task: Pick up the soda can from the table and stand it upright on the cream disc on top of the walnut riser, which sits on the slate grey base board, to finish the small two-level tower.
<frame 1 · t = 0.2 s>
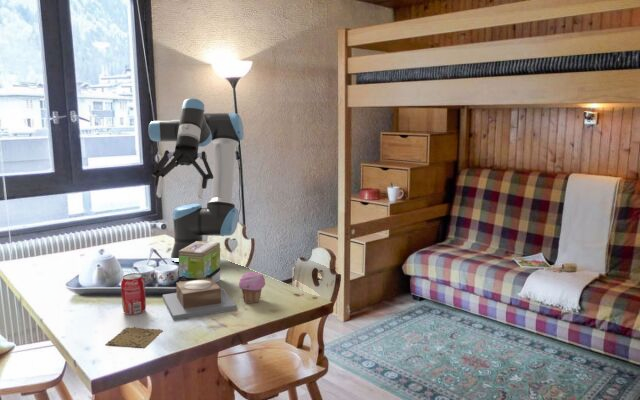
hand: (179, 196, 174), 36 cm above the table, tool tilted 35°, fingers open, 13 cm apart
base board: (198, 304, 177), on the table
walnut riser: (198, 292, 176), on the base board, point 4 cm above the table
soda can: (134, 312, 170), on the table
brown flat square slab: (135, 339, 152), on the table
tea box: (200, 285, 196), on the table
cupcake: (252, 301, 180), on the table
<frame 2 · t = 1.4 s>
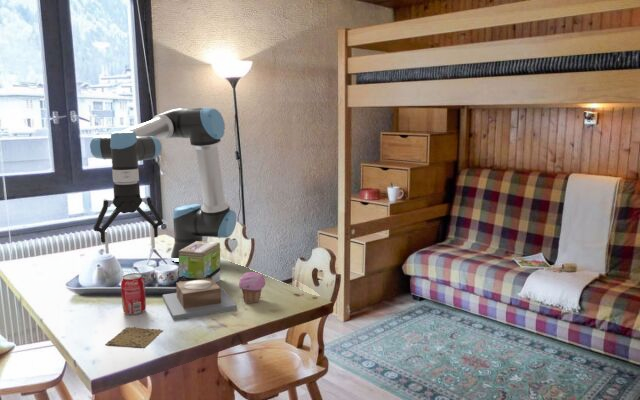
hand: (130, 250, 167), 20 cm above the table, tool pointing down, fingers open, 13 cm apart
nothing on the table moved.
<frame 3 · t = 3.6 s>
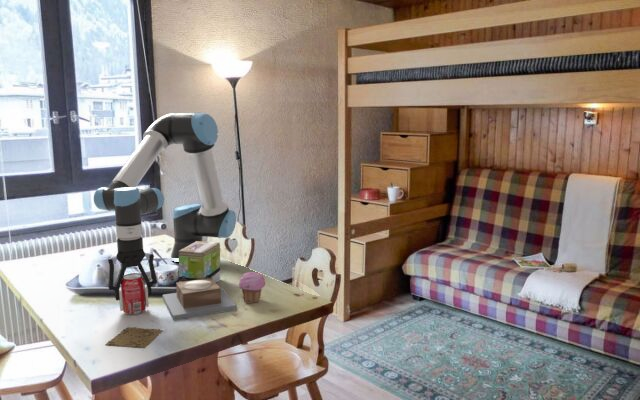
hand: (134, 307, 170), 2 cm above the table, tool pointing down, fingers closed on soda can, 7 cm apart
soda can: (134, 312, 170), on the table, touching gripper
everything else where it was.
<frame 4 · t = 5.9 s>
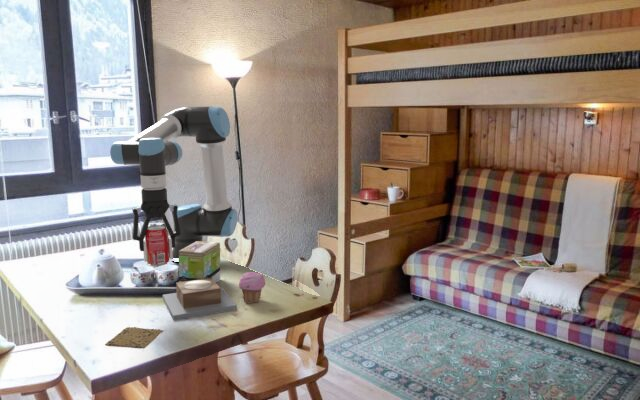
hand: (158, 258, 170), 17 cm above the table, tool pointing down, fingers closed on soda can, 7 cm apart
soda can: (158, 264, 171), point 15 cm above the table, touching gripper
everything else where it was.
when the fingers open (10 cm above the table, at t = 8.3 s): soda can drops 1 cm, resting on walnut riser.
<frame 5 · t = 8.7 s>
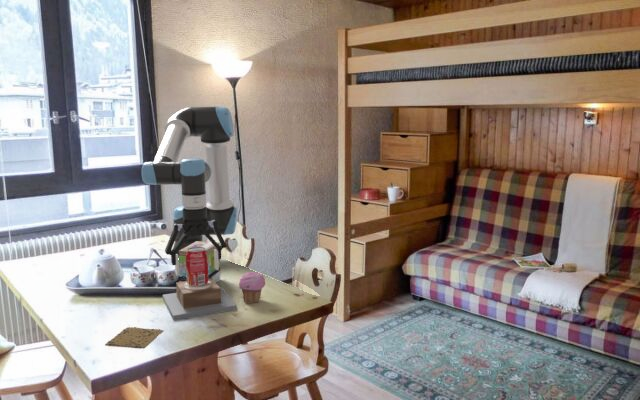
hand: (197, 271, 175), 11 cm above the table, tool pointing down, fingers open, 12 cm apart
soda can: (197, 284, 176), point 7 cm above the table, touching walnut riser
everything else where it was.
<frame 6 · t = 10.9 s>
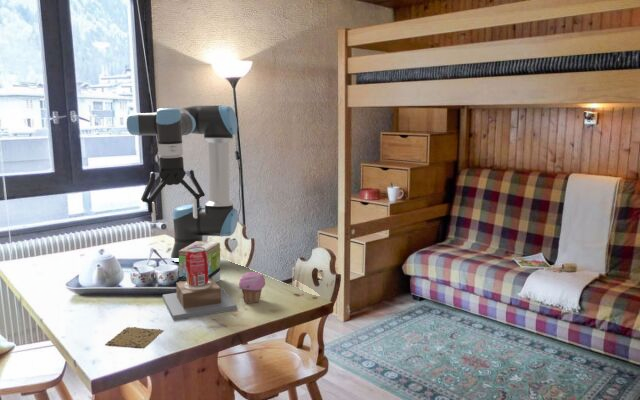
hand: (175, 219, 178), 27 cm above the table, tool pointing down, fingers open, 13 cm apart
nothing on the table moved.
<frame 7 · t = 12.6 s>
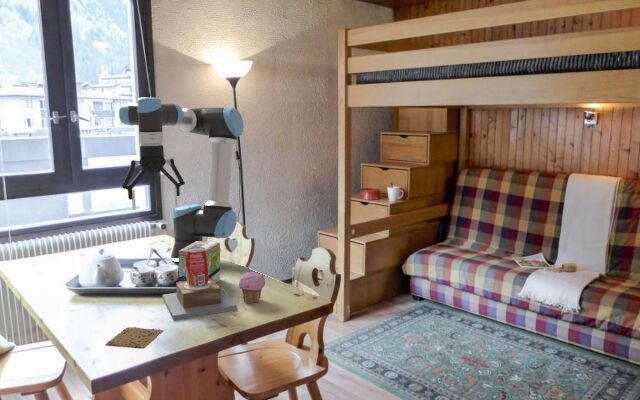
hand: (155, 207, 182), 31 cm above the table, tool pointing down, fingers open, 13 cm apart
nothing on the table moved.
at the end: soda can 0.0 cm off-centre on the walnut riser, point 6.6 cm above the walnut riser's base; soda can tilted 0°; the gripper is holding nothing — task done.
